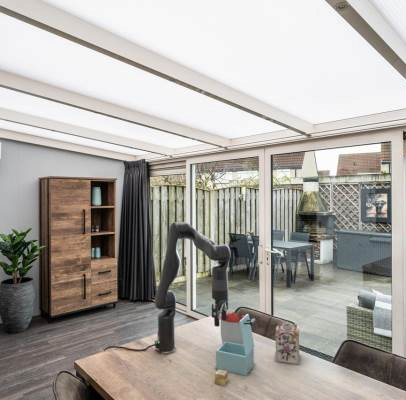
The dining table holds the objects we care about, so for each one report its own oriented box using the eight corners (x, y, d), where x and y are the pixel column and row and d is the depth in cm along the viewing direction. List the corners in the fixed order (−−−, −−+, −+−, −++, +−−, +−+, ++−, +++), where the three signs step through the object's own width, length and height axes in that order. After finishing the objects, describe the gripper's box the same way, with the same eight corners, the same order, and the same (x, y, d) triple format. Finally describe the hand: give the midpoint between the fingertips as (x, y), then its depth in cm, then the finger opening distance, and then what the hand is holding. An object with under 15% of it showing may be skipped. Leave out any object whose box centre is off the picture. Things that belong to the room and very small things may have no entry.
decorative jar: (299, 355, 177) (299, 321, 178) (299, 365, 166) (298, 329, 167) (276, 352, 181) (276, 319, 182) (275, 361, 170) (274, 326, 171)
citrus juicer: (252, 343, 193) (252, 309, 193) (241, 355, 178) (240, 318, 179) (228, 338, 201) (228, 305, 202) (215, 348, 187) (215, 313, 187)
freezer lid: (239, 321, 159) (249, 321, 156) (247, 313, 170) (257, 313, 168) (245, 356, 157) (255, 356, 155) (252, 346, 168) (263, 346, 166)
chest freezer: (216, 368, 164) (215, 350, 164) (225, 358, 175) (225, 341, 176) (246, 375, 157) (245, 357, 157) (253, 364, 168) (253, 347, 168)
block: (215, 383, 151) (214, 373, 151) (218, 378, 155) (218, 369, 155) (224, 385, 148) (224, 375, 149) (227, 380, 152) (227, 371, 152)
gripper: (218, 284, 160) (218, 317, 160) (206, 290, 148) (206, 327, 148) (232, 285, 157) (233, 319, 157) (221, 292, 144) (222, 329, 144)
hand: (220, 323), depth 152 cm, fingers open, 8 cm apart
